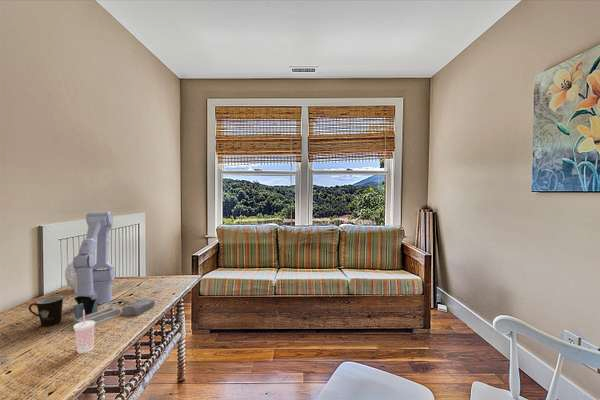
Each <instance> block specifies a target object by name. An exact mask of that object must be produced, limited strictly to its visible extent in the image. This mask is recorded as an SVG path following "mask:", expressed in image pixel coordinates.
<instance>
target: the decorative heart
mask: <svg viewBox="0 0 600 400" xmlns="http://www.w3.org/2000/svg"><path fill="white" fill-rule="evenodd" d="M64 272H65V273H64V277H65V278H64V279H65V282H66V283H67V285H68V286H69V287H70V288H71V289H72V290H73V291H74V290H77V276H76V273H75V269H74V267H73V260H72V261H71V262H70V263H69V264H68V265H67V267H66V268H65V271H64Z"/></svg>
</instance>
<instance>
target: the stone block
mask: <svg viewBox="0 0 600 400" xmlns="http://www.w3.org/2000/svg"><path fill="white" fill-rule="evenodd" d="M155 305H156V301H155V299H152V298H151V299H149V298H142V299H136V300H135V301H133V302H131V303H130V304H128V305H126V306H123V307H122V308H121V313H122V315H125V316H140V315H142V314H144V313H145V312H147V311H148V310H150V309H153V307H155Z"/></svg>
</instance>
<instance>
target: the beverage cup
mask: <svg viewBox="0 0 600 400" xmlns="http://www.w3.org/2000/svg"><path fill="white" fill-rule="evenodd" d="M95 326H96V325H95V321H92V320H89V321H85V310H83V322H80V323H77V324H76V325H74V324H73V330H74V334H75V342H76V350H77V353H78V354H85V353H88V352H90V351H92V350H94V347H95V346H94V345H95Z"/></svg>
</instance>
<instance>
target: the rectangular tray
mask: <svg viewBox="0 0 600 400" xmlns="http://www.w3.org/2000/svg"><path fill="white" fill-rule="evenodd" d="M97 311H98V312H95V313H92V314H90V315H87V316H85V321H89V320H92V321H95V325H94V326H97V325H100V324H102V323H104V321H105V322H107V321H109V320H112V319H115V318H118V317H120V316H121V315H122V314H121V313H122V311H121V308H118V307H114V306H112V305H111V306H108V307H107V308H104V309H101V310H97ZM80 322H83V317H81V318H78V319H77V318H76V319H75V318H73V326H74V325H76V324H77V323H80Z"/></svg>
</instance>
